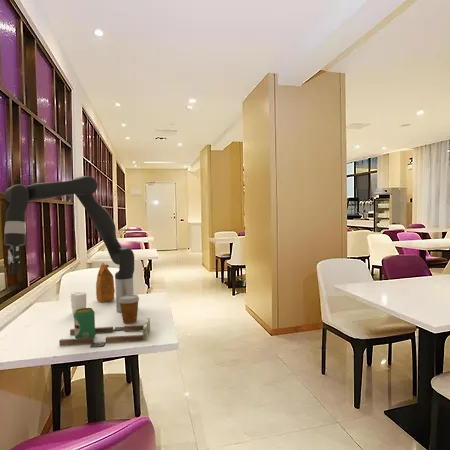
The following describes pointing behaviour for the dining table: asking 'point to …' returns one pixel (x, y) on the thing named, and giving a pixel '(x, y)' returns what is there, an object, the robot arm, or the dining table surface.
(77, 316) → the beverage can
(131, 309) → the disposable coffee cup
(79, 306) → the white cup
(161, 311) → the dining table surface
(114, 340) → the walnut track
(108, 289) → the coffee package
